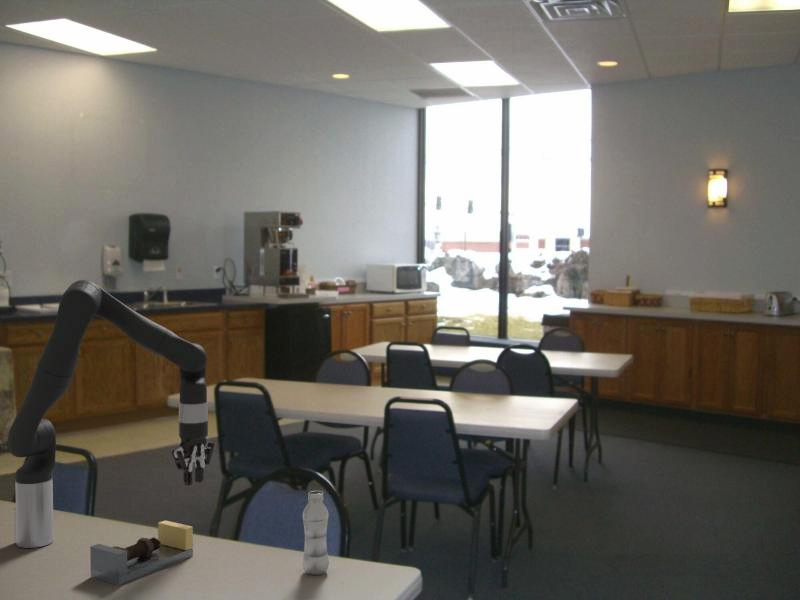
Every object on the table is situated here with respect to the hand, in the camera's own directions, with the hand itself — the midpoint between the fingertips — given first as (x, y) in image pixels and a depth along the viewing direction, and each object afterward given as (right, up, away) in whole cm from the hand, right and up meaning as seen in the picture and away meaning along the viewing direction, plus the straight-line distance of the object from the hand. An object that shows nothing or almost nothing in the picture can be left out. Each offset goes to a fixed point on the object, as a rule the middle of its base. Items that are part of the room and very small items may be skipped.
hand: (193, 483), depth 233 cm
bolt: (-11, -16, -15) cm, 25 cm away
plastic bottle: (+34, -19, -18) cm, 43 cm away
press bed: (-9, -18, -14) cm, 25 cm away
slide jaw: (-4, -15, -5) cm, 16 cm away
